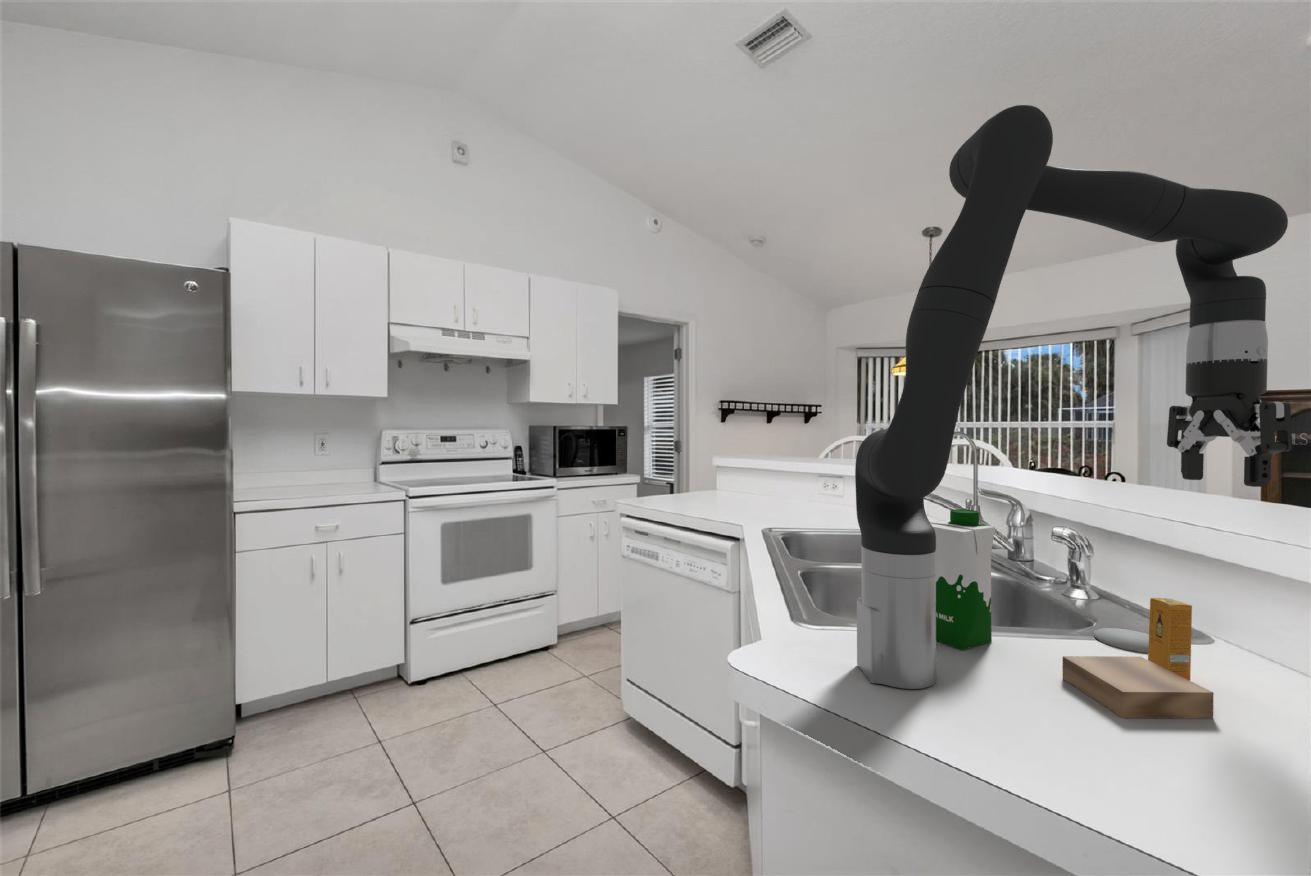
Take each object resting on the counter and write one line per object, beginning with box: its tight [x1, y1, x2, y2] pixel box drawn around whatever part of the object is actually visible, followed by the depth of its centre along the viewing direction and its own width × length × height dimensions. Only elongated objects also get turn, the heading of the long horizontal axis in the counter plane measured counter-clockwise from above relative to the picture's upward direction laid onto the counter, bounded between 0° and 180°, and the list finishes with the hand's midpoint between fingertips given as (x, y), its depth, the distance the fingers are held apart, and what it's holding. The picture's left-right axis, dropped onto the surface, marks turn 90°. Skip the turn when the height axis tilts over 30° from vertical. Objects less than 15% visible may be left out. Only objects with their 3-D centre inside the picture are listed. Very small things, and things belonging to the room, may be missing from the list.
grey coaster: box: [1093, 627, 1149, 654], centre depth 87 cm, size 9×9×1 cm
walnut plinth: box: [1062, 655, 1214, 720], centre depth 69 cm, size 10×10×3 cm
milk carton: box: [929, 508, 996, 651], centre depth 88 cm, size 9×9×20 cm
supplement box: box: [1147, 597, 1193, 681], centre depth 75 cm, size 3×4×10 cm
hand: (1222, 482), depth 74 cm, fingers open, 8 cm apart
